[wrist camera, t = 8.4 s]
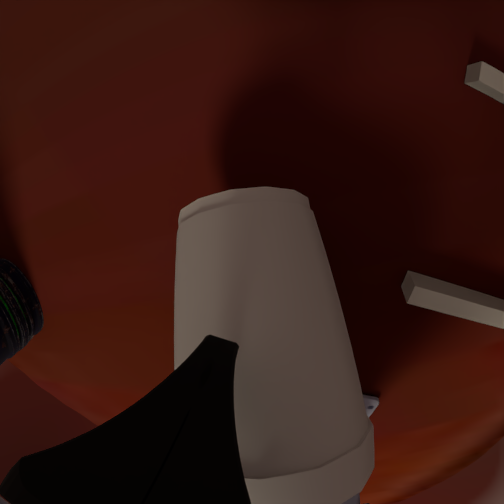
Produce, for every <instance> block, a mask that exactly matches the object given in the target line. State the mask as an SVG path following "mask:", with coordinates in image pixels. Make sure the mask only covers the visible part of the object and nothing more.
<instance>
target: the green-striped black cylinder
mask: <svg viewBox="0 0 504 504" xmlns="http://www.w3.org/2000/svg"><path fill="white" fill-rule="evenodd" d="M42 327H43V313H42V309H41V306H40V303H39V300H38V298H37V296H36V293H35V291H34V290H33V288H32V286H31V284H30V283H29V281H28V280H27V278H26V277H25V275H24V274H23V273H22V272H21V271H20V269H19V268H18V267H17V266H16V265H14V264H13V263H12V262H10V261H9V260H6V259H2V258H1V259H0V365H1V364H2V363H3V362H4V361H5V360H6V359H8V358H11V357H13V356H14V355H15V354H16V353H17V352H18V351H20V350H21V349H22V348H24V347H25V346H26V345H27V344H28V342H29V341H30V340H31V339H32V338H33V335H36V334H37V333H38V332H40V331H41V329H42Z"/></svg>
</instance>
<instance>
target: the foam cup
mask: <svg viewBox="0 0 504 504" xmlns="http://www.w3.org/2000/svg"><path fill="white" fill-rule="evenodd" d="M178 223H179V228H178V232H177V245H176V268H175V303H174V370H176V369H177V368H178V367H179V366H180V365H181V364H182V363H183V362H184V361H185V360H186V359H187V358H188V357H189V356H190V355H191V353H192V352H193V351H194V350H195V349H196V348H197V347H198V345H199V344H200V343H201V342H202V341H203V339H204V338H205V337H206V336H207V335H213V336H216V337H219V338H223V339H226V340H229V341H232V342H236V343H237V344H238V346H239V349H238V353H237V356H236V362H235V372H234V413H235V425H236V434H237V442H238V448H239V454H240V460H241V465H242V470H243V474H244V479H245V483H246V486H247V490H248V494H249V497H250V501H251V504H342V503H343V502H345V501H347V500H348V499H350V498H352V497H353V496H355V495H356V494H358V493H359V492H361V491H362V489H363V487H364V486H365V484H366V482H367V480H368V478H369V477H370V475H371V473H372V471H373V469H374V429H373V424H372V423H371V421H370V419H369V418H368V416H367V414H366V409H365V404H364V399H363V395H362V390H361V385H360V381H359V376H358V372H357V368H356V364H355V359H354V355H353V351H352V347H351V343H350V339H349V335H348V331H347V327H346V323H345V319H344V315H343V312H342V308H341V304H340V300H339V297H338V293H337V290H336V286H335V282H334V279H333V275H332V272H331V268H330V265H329V262H328V258H327V255H326V251H325V248H324V245H323V241H322V238H321V235H320V232H319V229H318V225H317V222H316V219H315V216H314V213H313V210H311V209H310V205H309V199H308V197H306V196H304V195H303V194H301V193H299V192H297V191H295V190H292V189H284V188H275V187H266V186H265V187H253V188H242V189H232V190H227V191H223V192H220V193H216V194H213V195H209V196H206V197H203V198H199V199H197V200H196V201H194V202H192V203H191V204H189V205H188V206H186V207H184V208H183V209H181V211H180V215H179V219H178Z"/></svg>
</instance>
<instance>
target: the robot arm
mask: <svg viewBox="0 0 504 504" xmlns="http://www.w3.org/2000/svg"><path fill="white" fill-rule="evenodd" d="M238 349H239V346H238V344H237V343H236V342H232V341H229V340H226V339H223V338H219V337H216V336H213V335H207V336H206V337H205V338H204V339H203V341H202V342H201V343H200V344H199V345H198V347H197V348H196V349H195V350H194V351H193V352H192V353H191V355H190V356H189V357H188V358H187V359H186V360H185V361H184V362H183V363H182V364H181V365H180V366H179V367H178V368H177V369H176V370H174V371H173V372H172V373H171V374H170V375H169V376H168V377H167V378H166V379H165V380H164V381H163V382H161V383H160V384H159V385H158V386H156V387H155V388H154V389H153V390H152V391H150V392H149V393H148V394H147V395H145V396H144V397H143V398H141V399H140V400H139V401H137V402H136V403H135V404H133V405H132V406H130V407H129V408H127V409H126V410H124V411H123V412H121V413H120V414H118V415H117V416H115V417H113V418H112V419H110V420H108V421H107V422H105V423H103V424H102V425H100V426H98V427H96V428H94V429H93V430H91V431H89V432H87V433H84V434H82V435H80V436H78V437H76V438H73V439H71V440H69V441H67V442H64V443H63V444H60V445H57V446H55V447H52V448H49V449H46V450H43V451H40V452H37V453H34V454H31V455H28V456H24V457H22V458H21V459H20V460H19V461H18V462H17V463H16V464H15V465H14V466H13V467H12V468H11V470H10V471H9V473H8V474H7V475H6V477H5V479H4V480H3V482H2V483H1V485H0V494H1V495H2V496H3V497H4V498H5V499H6V500H7V501H9V502H10V503H11V504H251V501H250V497H249V494H248V490H247V486H246V483H245V479H244V474H243V470H242V465H241V460H240V454H239V448H238V442H237V434H236V425H235V413H234V372H235V362H236V356H237V353H238ZM363 399H364V404H365V409H366V414H367V416H368V418H369V417H370V415H371V414H372V413H373V411H374V410H375V409H376V407H377V406H378V404H379V399H378V398H377V397H373V396H367V395H363ZM359 494H360V492H359V493H358V494H356V495H355V496H353V497H352V498H350V499H348V500H347V501H345V502H343V503H342V504H360V496H359ZM0 504H9V503H7V502H6V501H5V500H4V499H3V498H1V497H0ZM365 504H370V503H365Z"/></svg>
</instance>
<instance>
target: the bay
mask: <svg viewBox="0 0 504 504" xmlns="http://www.w3.org/2000/svg"><path fill="white" fill-rule="evenodd" d="M465 84H467V85H469V86H471V87H473V88H475V89H477V90H479V91H481V92H482V93H484V94H486V95H488V96H490V97H492V98H494V99H495V100H497V101H499V102H501V103H503V104H504V73H502V72H501V71H499V70H497V69H495V68H494V67H492V66H490V65H488V64H486V63H485V62H483V61H480V62H477V63H474V64H471V65H467V71H466V77H465ZM401 288H402V291H403V294H404V297H405V299H406V302H407V303H408V304H411V305H415V306H419V307H423V308H426V309H430V310H434V311H438V312H441V313H445V314H449V315H453V316H457V317H460V318H464V319H468V320H472V321H476V322H480V323H483V324H487V325H491V326H495V327H499V328H503V329H504V300H503V299H500V298H497V297H493V296H490V295H487V294H484V293H481V292H478V291H474V290H471V289H468V288H465V287H462V286H458V285H455V284H452V283H449V282H445V281H442V280H439V279H435V278H432V277H429V276H425V275H422V274H419V273H415V272H412V271H409V270H408V271H407V274H406V276H405V278H404V281H403V283H402V285H401Z"/></svg>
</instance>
